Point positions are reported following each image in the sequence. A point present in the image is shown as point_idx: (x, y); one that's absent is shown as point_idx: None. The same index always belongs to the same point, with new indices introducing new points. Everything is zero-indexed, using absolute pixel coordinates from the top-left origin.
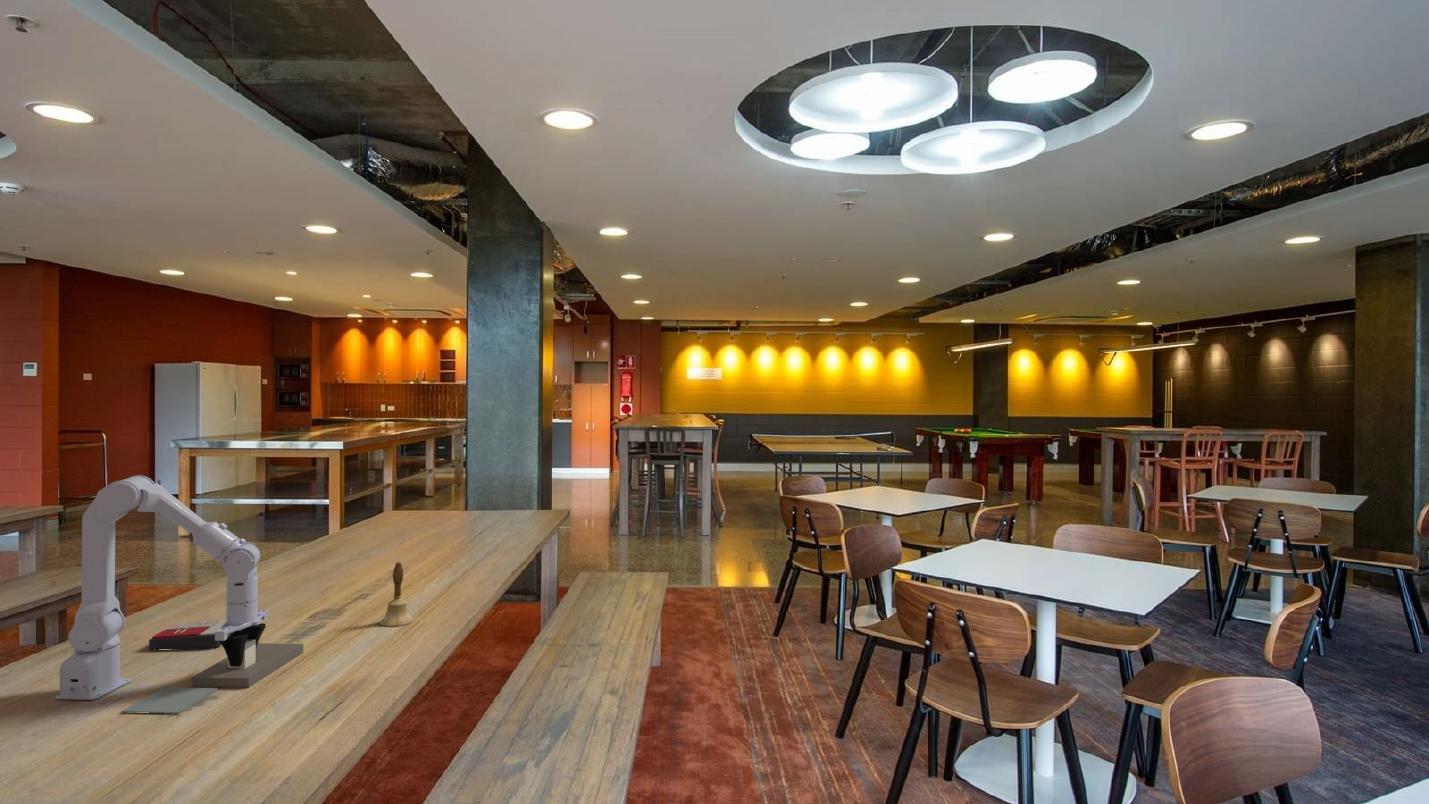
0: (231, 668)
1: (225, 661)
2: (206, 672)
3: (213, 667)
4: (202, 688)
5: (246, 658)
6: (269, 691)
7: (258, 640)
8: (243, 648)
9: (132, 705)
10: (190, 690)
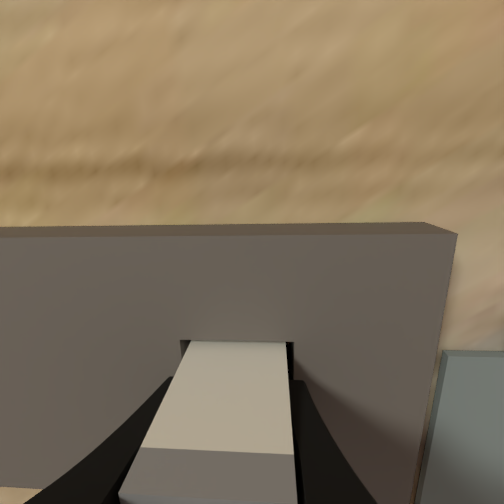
0: None
1: None
2: None
3: None
4: (442, 415)
5: (272, 387)
6: (495, 58)
7: (84, 463)
8: (312, 479)
9: None
10: (459, 446)
